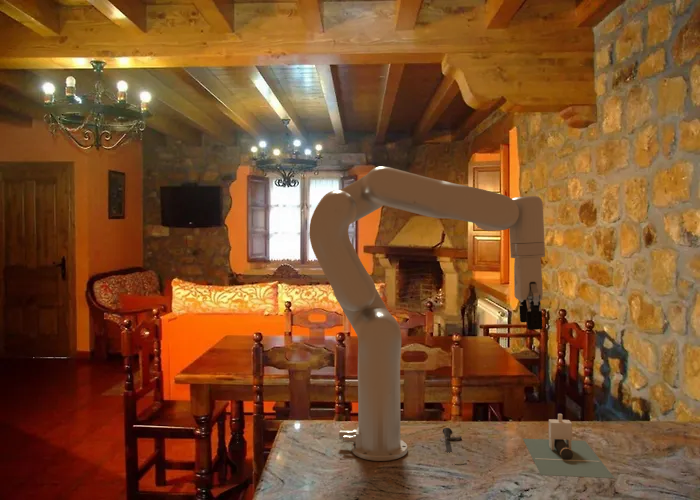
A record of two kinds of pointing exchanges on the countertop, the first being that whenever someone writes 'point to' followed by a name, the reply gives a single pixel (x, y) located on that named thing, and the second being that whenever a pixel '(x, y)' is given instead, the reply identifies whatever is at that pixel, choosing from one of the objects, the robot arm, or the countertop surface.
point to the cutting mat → (578, 466)
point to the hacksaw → (447, 439)
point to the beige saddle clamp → (560, 431)
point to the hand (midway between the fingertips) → (530, 325)
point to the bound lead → (563, 449)
